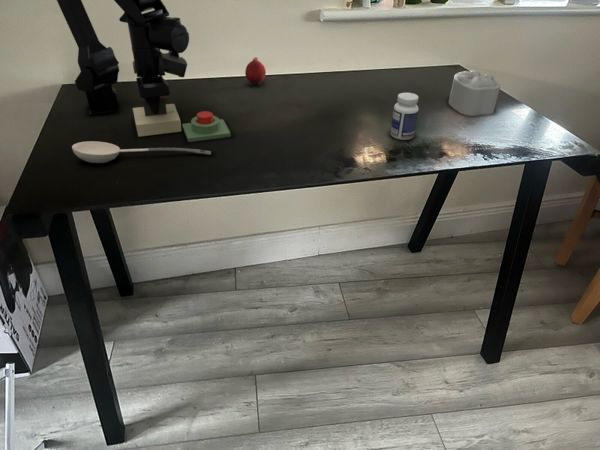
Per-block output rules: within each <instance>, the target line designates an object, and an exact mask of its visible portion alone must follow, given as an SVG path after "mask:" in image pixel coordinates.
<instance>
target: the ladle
mask: <svg viewBox="0 0 600 450" xmlns="http://www.w3.org/2000/svg"><path fill="white" fill-rule="evenodd" d="M71 149H72V152H73V154H74V155H75V156H76V157H77V158H79V159H80V160H82V161H84V162H87V163H91V164H92V163H93V164H106V163H109V162H110V161H113V160H115V159H116V158H117V157H118V156H119V154H120V153H135V152H181V153H182V152H183V153H190V154H191V153H192V154H200V155H206V156H207V155H208V156H211V155H212V151H211V150H204V149H200V148H199V149H198V148H184V147H147V148H128V149H127V148H125V149H123V148H122V149H121V147H119V146H118V145H117V144H113V143H110V142H104V141H93V140H89V141H81V142H80V141H79V142H77V143H74V144H73V145H71Z"/></svg>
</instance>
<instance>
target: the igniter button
mask: <svg viewBox="0 0 600 450" xmlns="http://www.w3.org/2000/svg"><path fill="white" fill-rule="evenodd" d="M213 115H214V114H213V112H211V111H208V110H207V111H205V110H203V111H200V112H197V114H196V116H197V121H198V123H199V124H204V125H205V124H210V123H213Z"/></svg>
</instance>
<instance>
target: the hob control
mask: <svg viewBox="0 0 600 450" xmlns="http://www.w3.org/2000/svg"><path fill="white" fill-rule="evenodd" d="M166 110H167V114H161V115H152V116H145V112H144V106H139V107H132V112H133V118H134V123H135V128H136V132H137V137H138V138H140V137H147V136H155V135H162V134H171V133H179V132H182V130H183V129H182V123H181V122H182V121H181V118H180V116H179V113H178V110H177V107H176V105H175V103H166Z"/></svg>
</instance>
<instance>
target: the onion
mask: <svg viewBox="0 0 600 450" xmlns="http://www.w3.org/2000/svg"><path fill="white" fill-rule="evenodd" d="M244 71H245V72H244V74H245V78H246V79H247V81H248V82H249V83H251V84H252V85H253V86H258V85H259V84H261V83H262V82H263V81H264V80H265V78H266V72H267V71H266V68H265V65H264V64H263V63H262V62H261V61H259V60H258V57H257V56H254V57H253V59H252V60H251V61H250V62H249V63H247V64H246V67H245V70H244Z"/></svg>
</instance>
